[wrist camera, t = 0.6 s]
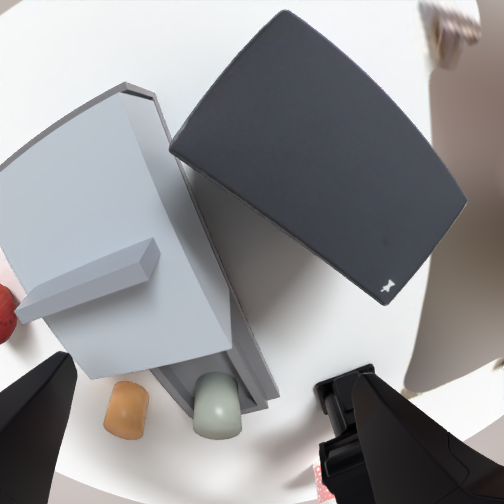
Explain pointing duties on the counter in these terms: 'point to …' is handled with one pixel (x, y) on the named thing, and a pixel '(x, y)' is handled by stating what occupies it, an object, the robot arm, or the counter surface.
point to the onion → (6, 314)
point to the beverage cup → (322, 486)
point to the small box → (323, 157)
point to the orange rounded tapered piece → (127, 411)
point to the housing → (210, 366)
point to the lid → (113, 244)
